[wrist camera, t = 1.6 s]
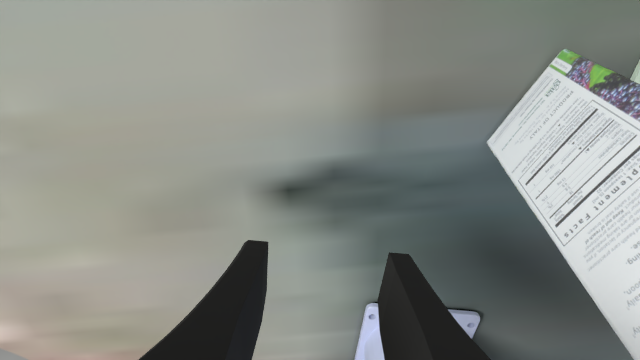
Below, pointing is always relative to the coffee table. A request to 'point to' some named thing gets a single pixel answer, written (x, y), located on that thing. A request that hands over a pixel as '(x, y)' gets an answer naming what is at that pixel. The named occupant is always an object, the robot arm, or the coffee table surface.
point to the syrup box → (583, 178)
